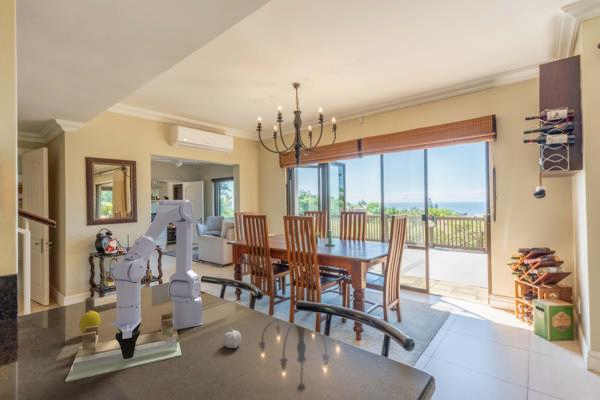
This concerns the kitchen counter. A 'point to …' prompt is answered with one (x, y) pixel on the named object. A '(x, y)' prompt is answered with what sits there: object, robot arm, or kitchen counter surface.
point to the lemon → (89, 320)
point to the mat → (122, 365)
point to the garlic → (232, 338)
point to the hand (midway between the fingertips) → (128, 353)
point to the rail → (117, 357)
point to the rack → (94, 347)
